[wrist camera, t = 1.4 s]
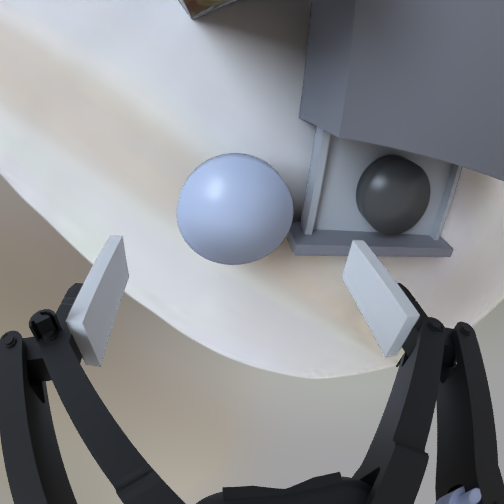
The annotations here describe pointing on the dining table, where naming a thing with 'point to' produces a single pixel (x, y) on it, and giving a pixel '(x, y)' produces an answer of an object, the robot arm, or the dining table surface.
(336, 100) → the gray drawer box
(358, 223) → the tray
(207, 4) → the coffee box
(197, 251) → the light blue dome
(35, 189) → the dining table surface
